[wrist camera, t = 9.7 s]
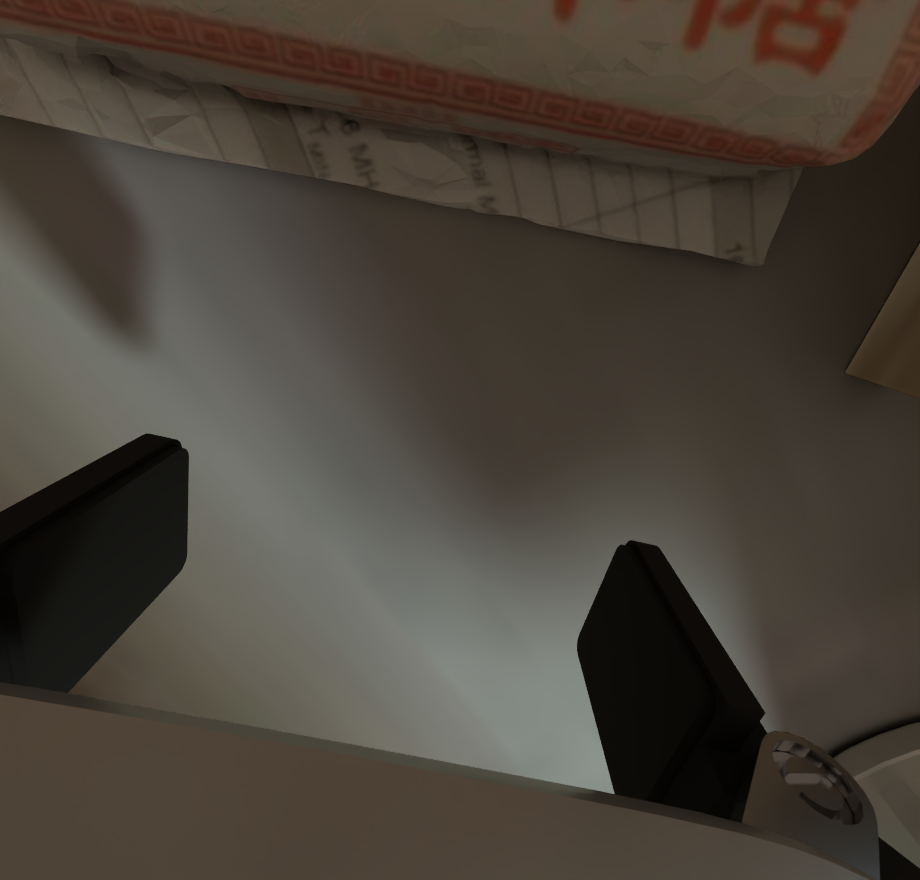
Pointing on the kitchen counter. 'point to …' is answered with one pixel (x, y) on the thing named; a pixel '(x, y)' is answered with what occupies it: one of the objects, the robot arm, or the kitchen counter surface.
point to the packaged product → (490, 98)
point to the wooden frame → (894, 338)
